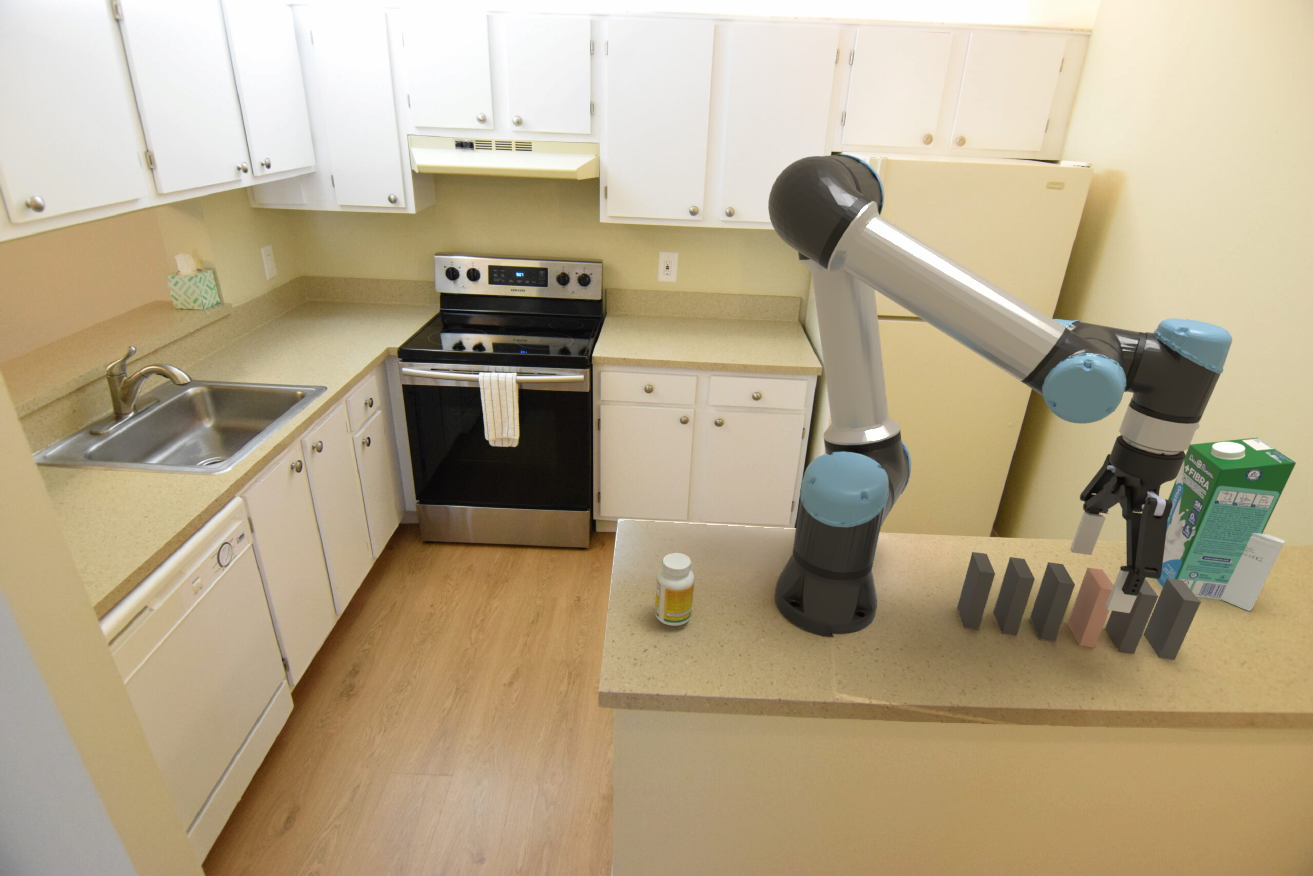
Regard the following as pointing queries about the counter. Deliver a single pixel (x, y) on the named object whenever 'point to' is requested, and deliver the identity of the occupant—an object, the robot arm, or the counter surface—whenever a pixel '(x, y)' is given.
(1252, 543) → the external hard drive
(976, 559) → the domino
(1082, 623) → the domino
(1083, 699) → the counter surface
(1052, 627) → the domino
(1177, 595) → the domino
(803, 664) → the counter surface
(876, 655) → the counter surface
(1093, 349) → the robot arm
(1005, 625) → the domino
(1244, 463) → the milk carton
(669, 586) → the supplement bottle
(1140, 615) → the domino
